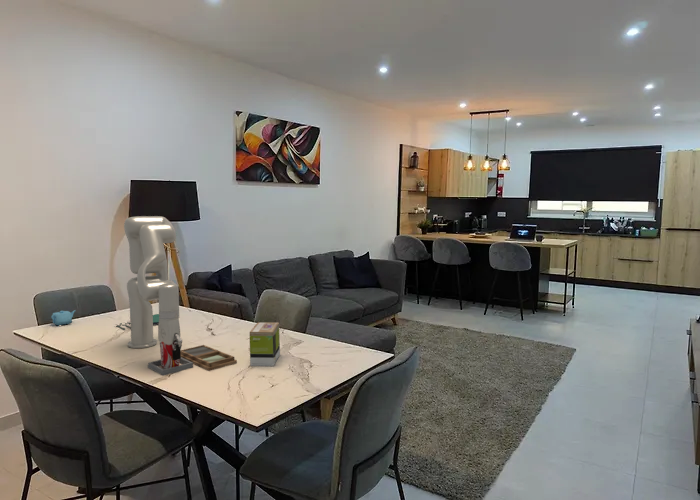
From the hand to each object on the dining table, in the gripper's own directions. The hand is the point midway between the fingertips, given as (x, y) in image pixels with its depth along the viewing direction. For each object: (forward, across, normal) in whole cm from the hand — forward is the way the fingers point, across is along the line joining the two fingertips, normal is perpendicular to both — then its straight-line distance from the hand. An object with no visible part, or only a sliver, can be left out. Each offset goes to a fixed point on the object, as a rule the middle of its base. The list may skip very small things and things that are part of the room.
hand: (170, 356), depth 194 cm
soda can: (+5, 0, 0) cm, 5 cm away
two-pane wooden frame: (+5, +2, +15) cm, 16 cm away
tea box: (+5, +20, +32) cm, 38 cm away
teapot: (+4, -103, -6) cm, 103 cm away
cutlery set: (+4, -76, +25) cm, 80 cm away
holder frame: (+5, 0, 0) cm, 5 cm away
